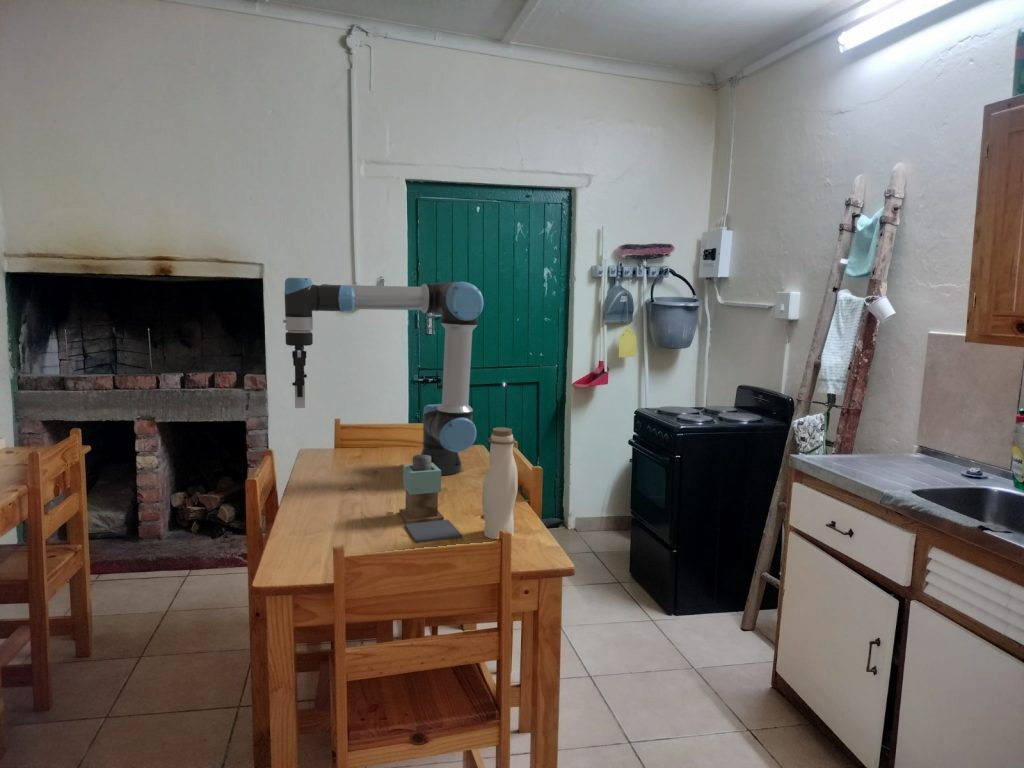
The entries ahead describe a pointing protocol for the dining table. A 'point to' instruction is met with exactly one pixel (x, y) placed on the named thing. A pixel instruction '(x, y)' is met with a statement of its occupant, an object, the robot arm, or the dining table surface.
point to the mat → (432, 531)
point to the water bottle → (500, 484)
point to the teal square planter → (421, 480)
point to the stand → (421, 498)
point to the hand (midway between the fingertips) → (300, 403)
